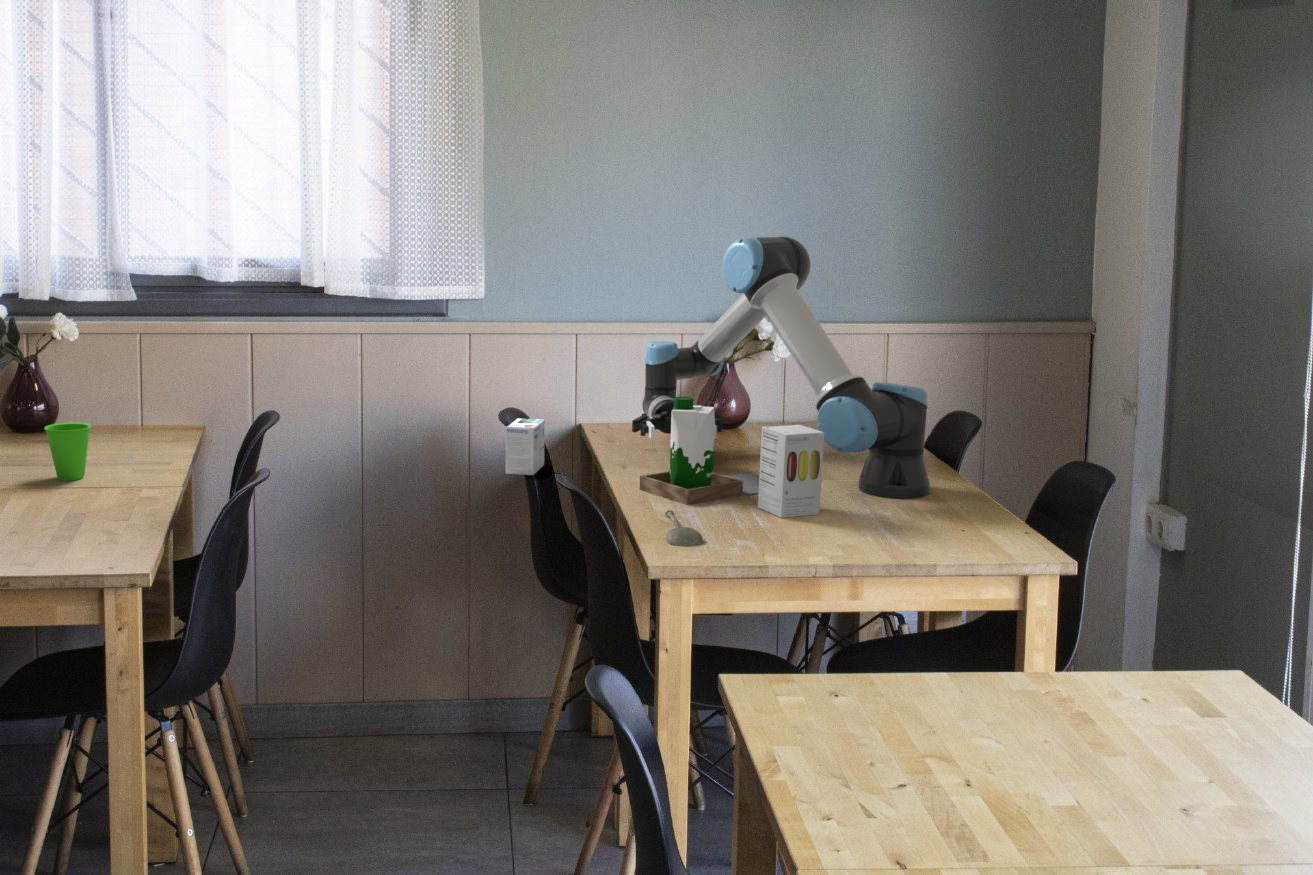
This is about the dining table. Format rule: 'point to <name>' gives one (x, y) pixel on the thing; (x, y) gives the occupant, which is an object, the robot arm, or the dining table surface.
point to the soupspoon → (682, 534)
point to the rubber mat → (748, 482)
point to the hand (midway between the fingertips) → (683, 432)
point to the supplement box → (790, 470)
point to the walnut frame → (716, 490)
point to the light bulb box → (525, 446)
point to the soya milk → (691, 444)
